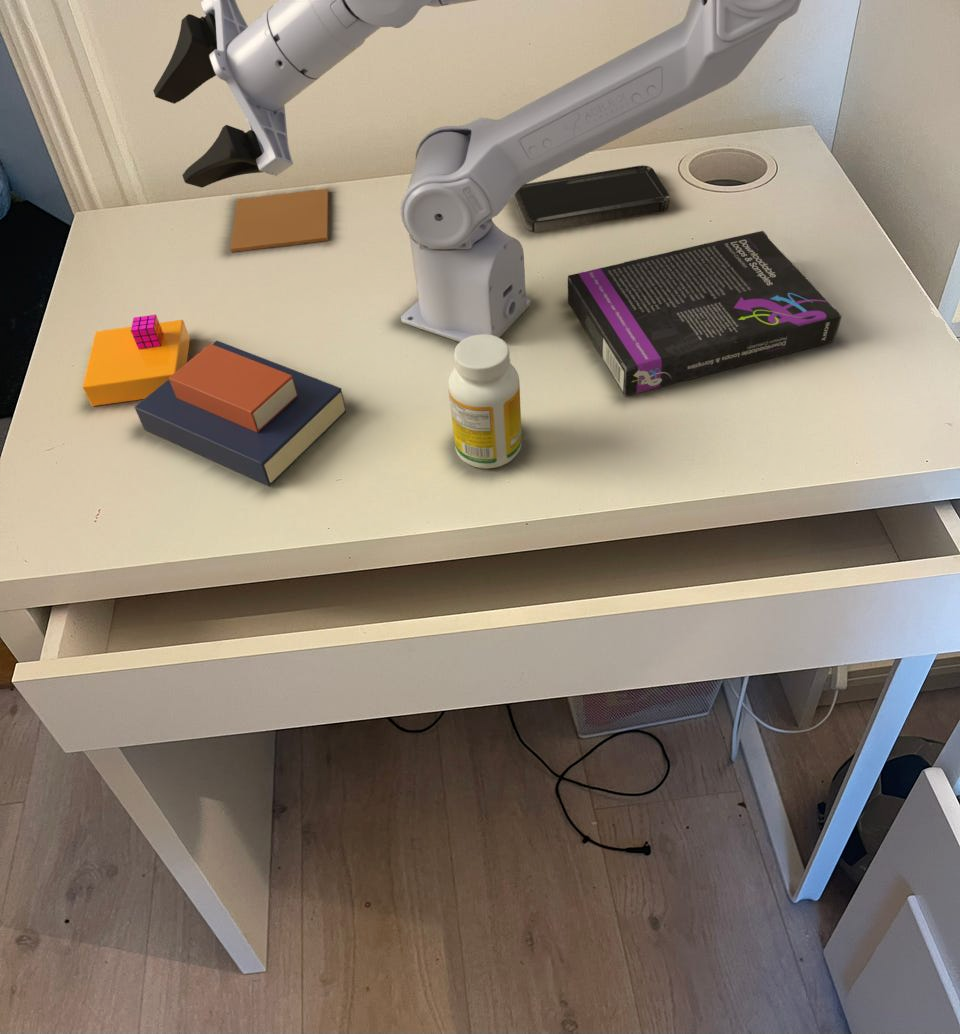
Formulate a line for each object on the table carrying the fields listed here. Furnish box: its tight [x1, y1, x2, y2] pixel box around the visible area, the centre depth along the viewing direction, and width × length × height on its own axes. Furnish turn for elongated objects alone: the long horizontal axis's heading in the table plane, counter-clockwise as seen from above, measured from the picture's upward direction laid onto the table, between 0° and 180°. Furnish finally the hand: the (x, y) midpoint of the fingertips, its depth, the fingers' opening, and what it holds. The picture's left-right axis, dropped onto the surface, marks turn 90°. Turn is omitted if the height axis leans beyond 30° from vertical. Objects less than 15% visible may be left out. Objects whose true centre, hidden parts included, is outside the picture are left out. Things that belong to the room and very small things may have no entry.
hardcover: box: [134, 340, 347, 487], centre depth 79 cm, size 14×10×3 cm
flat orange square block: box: [82, 314, 191, 407], centre depth 84 cm, size 8×8×4 cm
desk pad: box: [230, 188, 329, 253], centre depth 101 cm, size 10×10×1 cm
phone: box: [513, 164, 671, 233], centre depth 99 cm, size 8×1×15 cm
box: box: [567, 230, 843, 397], centre depth 83 cm, size 14×4×20 cm
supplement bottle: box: [447, 334, 523, 469], centre depth 72 cm, size 5×5×10 cm
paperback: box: [169, 343, 298, 433], centre depth 77 cm, size 9×5×2 cm, turn 58°
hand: (178, 139), depth 78 cm, fingers open, 7 cm apart
